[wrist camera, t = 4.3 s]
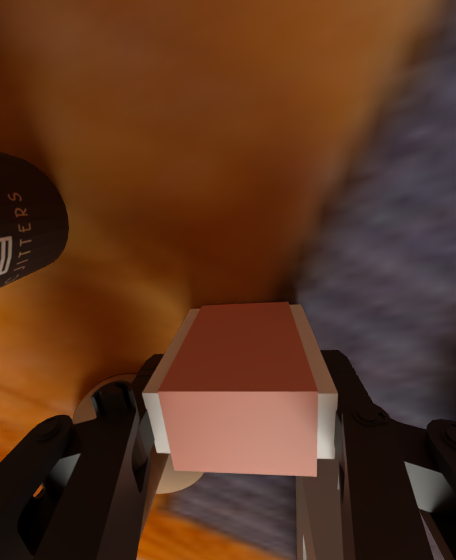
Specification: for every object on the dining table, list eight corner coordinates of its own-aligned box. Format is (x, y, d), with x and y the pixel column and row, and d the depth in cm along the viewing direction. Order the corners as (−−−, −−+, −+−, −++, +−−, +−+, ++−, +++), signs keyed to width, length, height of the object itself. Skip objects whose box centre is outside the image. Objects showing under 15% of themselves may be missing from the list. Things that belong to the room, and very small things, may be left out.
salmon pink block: (201, 305, 15) (157, 391, 8) (288, 301, 14) (318, 391, 7) (208, 356, 16) (174, 470, 9) (289, 355, 15) (316, 476, 8)
